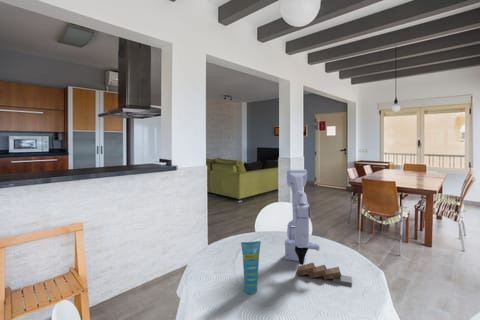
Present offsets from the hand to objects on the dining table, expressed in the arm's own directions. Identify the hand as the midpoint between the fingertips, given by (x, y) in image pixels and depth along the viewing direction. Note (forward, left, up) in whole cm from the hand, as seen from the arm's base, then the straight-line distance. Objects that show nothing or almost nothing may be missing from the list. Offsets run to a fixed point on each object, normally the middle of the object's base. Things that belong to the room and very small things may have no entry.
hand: (301, 263), depth 109 cm
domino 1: (-1, 0, -3) cm, 4 cm away
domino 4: (+13, +1, -4) cm, 14 cm away
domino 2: (+3, 0, -3) cm, 5 cm away
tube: (-15, -21, -5) cm, 26 cm away
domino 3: (+9, +1, -3) cm, 9 cm away
